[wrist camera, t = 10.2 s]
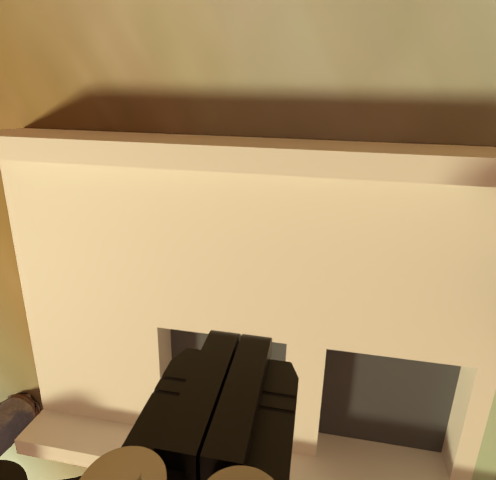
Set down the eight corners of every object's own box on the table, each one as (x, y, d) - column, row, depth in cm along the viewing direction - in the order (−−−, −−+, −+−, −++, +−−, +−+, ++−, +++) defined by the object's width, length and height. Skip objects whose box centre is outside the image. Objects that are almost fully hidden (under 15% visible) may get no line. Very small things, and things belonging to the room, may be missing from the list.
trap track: (22, 127, 22) (-51, 134, 18) (727, 156, 16) (865, 174, 12) (64, 400, 28) (17, 453, 23) (592, 489, 22) (653, 579, 18)
